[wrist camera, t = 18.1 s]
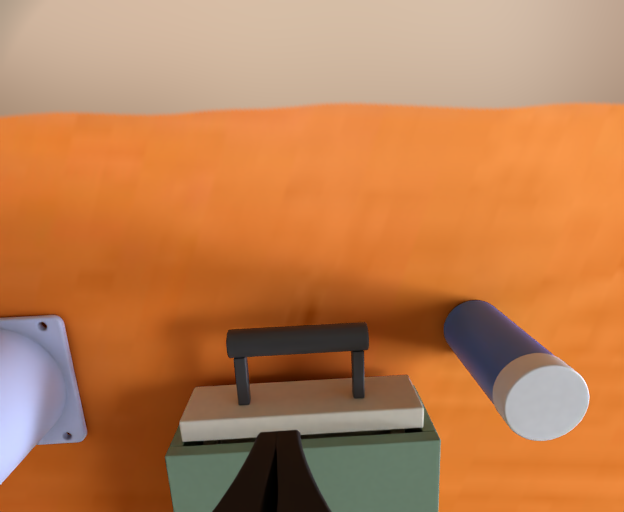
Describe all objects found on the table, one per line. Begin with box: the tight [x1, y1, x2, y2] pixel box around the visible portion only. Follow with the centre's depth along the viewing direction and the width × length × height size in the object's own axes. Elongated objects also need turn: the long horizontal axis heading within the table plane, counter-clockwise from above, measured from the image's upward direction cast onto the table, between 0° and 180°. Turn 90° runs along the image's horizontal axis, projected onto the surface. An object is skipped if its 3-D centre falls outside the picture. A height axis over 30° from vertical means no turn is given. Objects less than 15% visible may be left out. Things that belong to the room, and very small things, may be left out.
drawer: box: [179, 322, 424, 445], centre depth 23 cm, size 18×12×3 cm
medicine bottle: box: [444, 300, 589, 441], centre depth 20 cm, size 4×4×8 cm
